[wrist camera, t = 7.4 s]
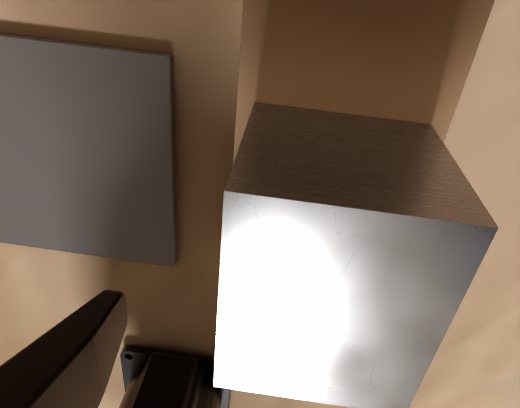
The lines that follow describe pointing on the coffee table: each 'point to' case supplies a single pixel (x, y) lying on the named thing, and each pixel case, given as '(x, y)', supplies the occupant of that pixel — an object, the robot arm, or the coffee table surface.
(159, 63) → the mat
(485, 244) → the cap block
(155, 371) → the robot arm
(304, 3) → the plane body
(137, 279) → the coffee table surface
